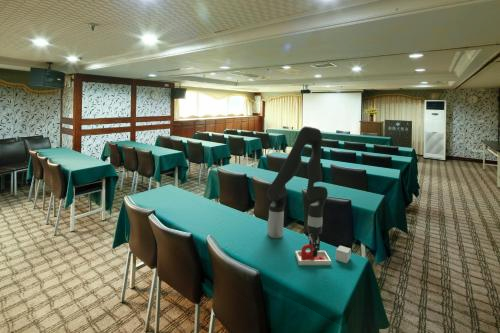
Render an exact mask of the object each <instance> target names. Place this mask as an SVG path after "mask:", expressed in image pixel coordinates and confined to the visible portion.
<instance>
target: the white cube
mask: <svg viewBox="0 0 500 333" xmlns="http://www.w3.org/2000/svg"><path fill="white" fill-rule="evenodd" d="M351 252H352V248H350V247H346V246H343V245H339V246H338V247H337V248H336V249H335V260H336V261H337V262H342V263H345V264H348V262H349V261H350V259H351V255H352V254H351Z"/></svg>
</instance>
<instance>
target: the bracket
mask: <svg viewBox="0 0 500 333" xmlns="http://www.w3.org/2000/svg"><path fill="white" fill-rule="evenodd" d="M308 249H309V251H310V252H306V251H307V250H308ZM300 251H301V259H302V260H325V258H324V256H317V257H313V246H312V245H310V244H309V243H306V244H304V245H302V247H301V250H300Z"/></svg>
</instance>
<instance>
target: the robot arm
mask: <svg viewBox="0 0 500 333" xmlns="http://www.w3.org/2000/svg"><path fill="white" fill-rule="evenodd" d="M322 137H323V136H322V132H321V130H320V129H319V128H316V127H312V126H306V125H305V126H303V127H302V128H301V129H300V130H299V132H298V134H297V137H296V139H295V141H294V144H293V146H292V148H291V150H290V151H289V153H288V155H287V157H286V159H285V160H284V162H283V164H282V166H281V168H279V169H280V170H279V171H278V173H277V174H276V176H275V178H274V179H273V181H272V182H271V184H270V185H269V187H268V189H267V190H266V196H267V198H268V200H270V201H272V202H271V203H270V204H269V206H268V219H267V229H266V230H267V233H266V234H267V236H268V237H269V238H272V239H281V238H282V237H283V236H284V219H285V218H284V217H285V216H284V214H285V207H286V201H287V189H286V187H285V186H286V184H288V182H290V181H291V180H292V179H293V178H294V177H296V175H297V173H298V171H299V170H300V168H301V166H302V152H303V150H304V147H305V146H306V145H310V146H311V155H310V158H309V160H308V163H307V178H308V179H307V187H306V192H305V193H306V194H305V195H306V198H307V200H308V201H316V202H313V203H311V204H309V205H308V216H307V224H306V225H307V226H306V232H307V235H308V236H307V239H308V244H310V245H312V246H313V257H317V252H318V251H320V250H321V249H320V248H321V247H320V246H321V239H320V237H319V235H322V232H323V216H324V215H323V212H324V210H323V209H324V206H325V204H326V201H327V198H328V193H329V190H328V189H327V187H326V186H321V185H320V186H318V185H317V186H314V185H315V184H317V183H320V182H322V180H323V172H322V164H321V163H322V162H321V159H322V158H321V156H322Z"/></svg>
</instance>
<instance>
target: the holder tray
mask: <svg viewBox="0 0 500 333" xmlns="http://www.w3.org/2000/svg"><path fill="white" fill-rule="evenodd" d="M294 252H295V254H294V255H295V258H296V261H297V263H298V266H332V260H331V258H330V257H329V255H328V253H327V251H326V250H319V251H318V252H317V256H324V258H325V260H302V259H301V250H295V251H294ZM306 252H310V250H306Z"/></svg>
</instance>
